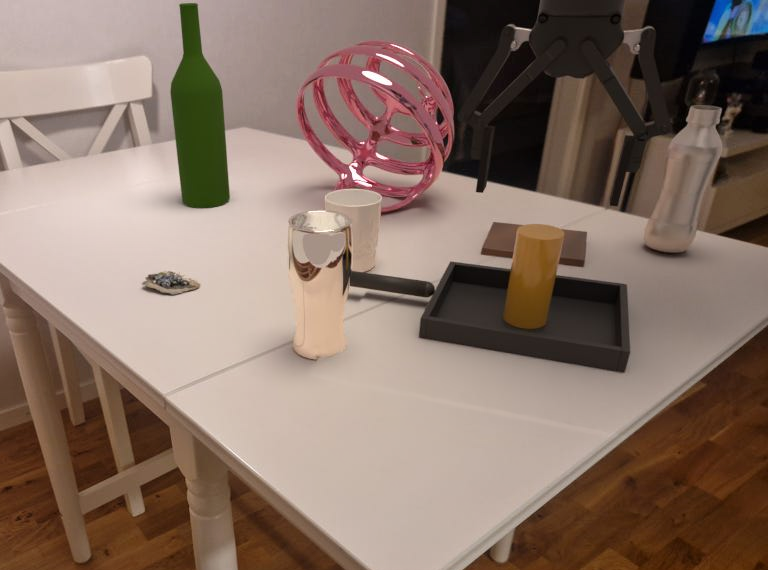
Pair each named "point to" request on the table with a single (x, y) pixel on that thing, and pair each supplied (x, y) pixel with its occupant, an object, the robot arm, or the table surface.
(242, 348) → the table surface
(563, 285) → the pan
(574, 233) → the board
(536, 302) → the canister
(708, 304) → the table surface
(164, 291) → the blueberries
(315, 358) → the beer glass
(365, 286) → the pan handle
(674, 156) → the plastic bottle
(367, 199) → the white cup
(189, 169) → the wine bottle
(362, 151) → the spiral basket
